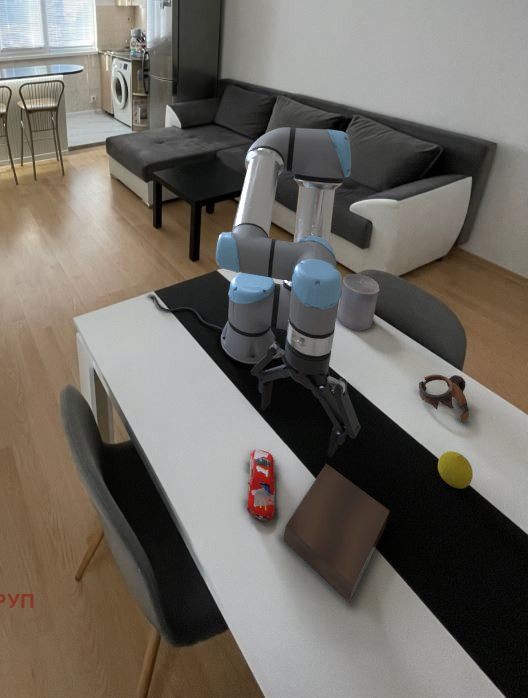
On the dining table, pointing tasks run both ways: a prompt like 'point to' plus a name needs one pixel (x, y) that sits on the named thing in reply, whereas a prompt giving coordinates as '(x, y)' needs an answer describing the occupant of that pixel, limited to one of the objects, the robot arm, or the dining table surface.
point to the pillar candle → (358, 301)
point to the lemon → (455, 469)
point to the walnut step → (336, 530)
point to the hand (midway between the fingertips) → (297, 426)
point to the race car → (261, 486)
